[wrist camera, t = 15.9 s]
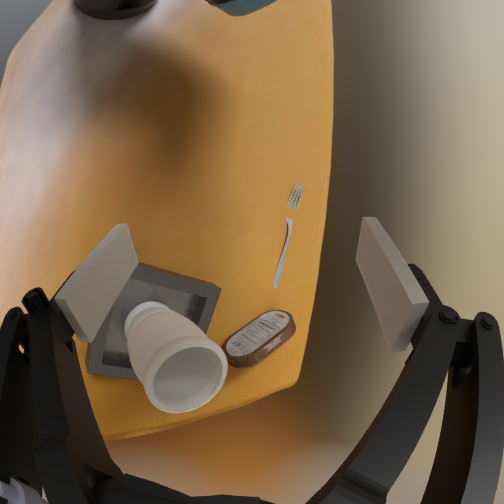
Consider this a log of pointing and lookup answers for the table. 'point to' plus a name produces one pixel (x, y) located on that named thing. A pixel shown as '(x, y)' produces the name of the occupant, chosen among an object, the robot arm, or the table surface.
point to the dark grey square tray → (137, 292)
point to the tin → (259, 338)
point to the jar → (173, 358)
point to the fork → (289, 222)
